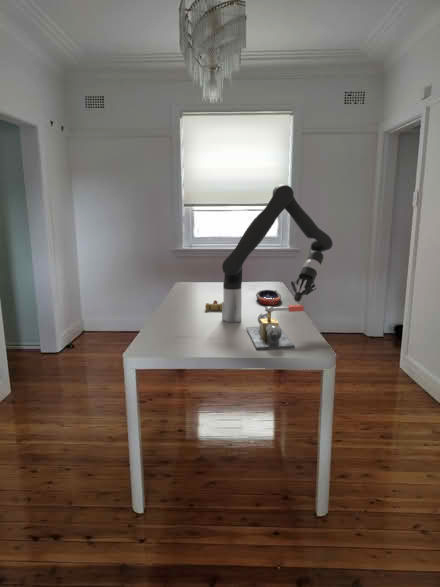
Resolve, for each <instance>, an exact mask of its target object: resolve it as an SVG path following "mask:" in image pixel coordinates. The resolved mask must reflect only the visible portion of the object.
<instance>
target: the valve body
mask: <svg viewBox="0 0 440 587" xmlns="http://www.w3.org/2000/svg"><path fill="white" fill-rule="evenodd" d="M257 322H258V323H259V326H246V328H245V329H246V332H247V334H248V336H249V338H250V340H251V342H252V343H253V346H254V348H255V349H256V351H261V350H262V351H263V350H264V351H265V350H267V351H268V350H286V349H295V348H296V345H295V344H294V343H293V341H292V340H291V339H290V337H288V335H287V334H286V332H285V331H284V330H283V329H282V328H281V327H280V323H279V321H278V320H277V319H276V318H275V317H273V318H272V312H267V313H266V312H263V313H262V312H261V313H260V314H259V315H258V316H257Z"/></svg>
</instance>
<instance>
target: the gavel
mask: <svg viewBox="0 0 440 587" xmlns="http://www.w3.org/2000/svg"><path fill="white" fill-rule="evenodd" d="M209 311H211V312H215V311H216V312H218V311H219V312H222V302H220V303H218V301H217V300H214V301H213V303H209V302H208V303H206V302H205V312H209Z"/></svg>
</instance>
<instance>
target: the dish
mask: <svg viewBox="0 0 440 587" xmlns="http://www.w3.org/2000/svg"><path fill="white" fill-rule="evenodd" d="M255 297H256V299H257V301H258V302H259V303H260V304H262V305H266V306H275V305H277V304H279V303H280V302H281V300H282V295H281V293H280V292H278V291H277V289H276V290H273V289H262V290H259V291H258V292H256V293H255ZM264 297H266V298H272V299H266V298H264ZM273 298H274V299H273Z"/></svg>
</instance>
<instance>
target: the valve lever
mask: <svg viewBox="0 0 440 587" xmlns="http://www.w3.org/2000/svg"><path fill="white" fill-rule="evenodd" d="M264 308H265V309H264V311H265V313H266V312H271V313H272V312H277V311H288V312H293V313H294V312H295V313H296V312H304V310H305V309H304V305H302V304H291V305H290V304H287V306H272V305H266V306H265V307H264Z"/></svg>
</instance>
